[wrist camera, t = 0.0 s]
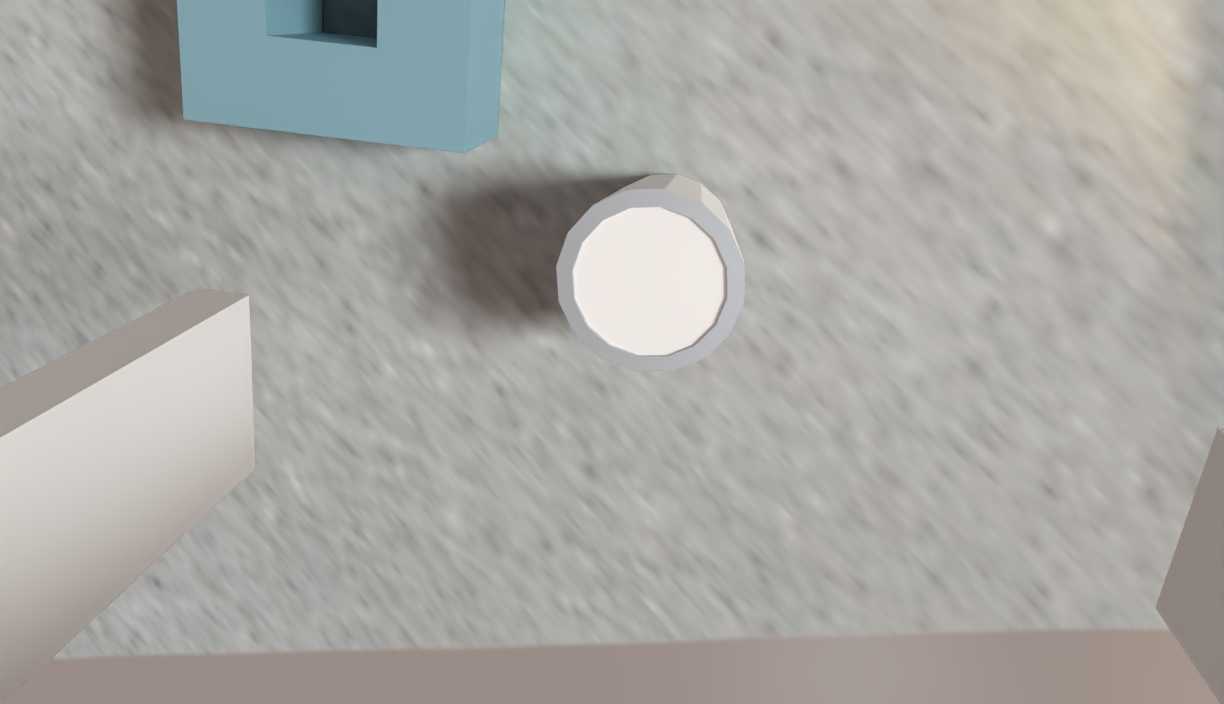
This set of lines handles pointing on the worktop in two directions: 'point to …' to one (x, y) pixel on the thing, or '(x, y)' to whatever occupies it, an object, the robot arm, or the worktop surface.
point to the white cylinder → (652, 275)
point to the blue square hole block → (346, 70)
